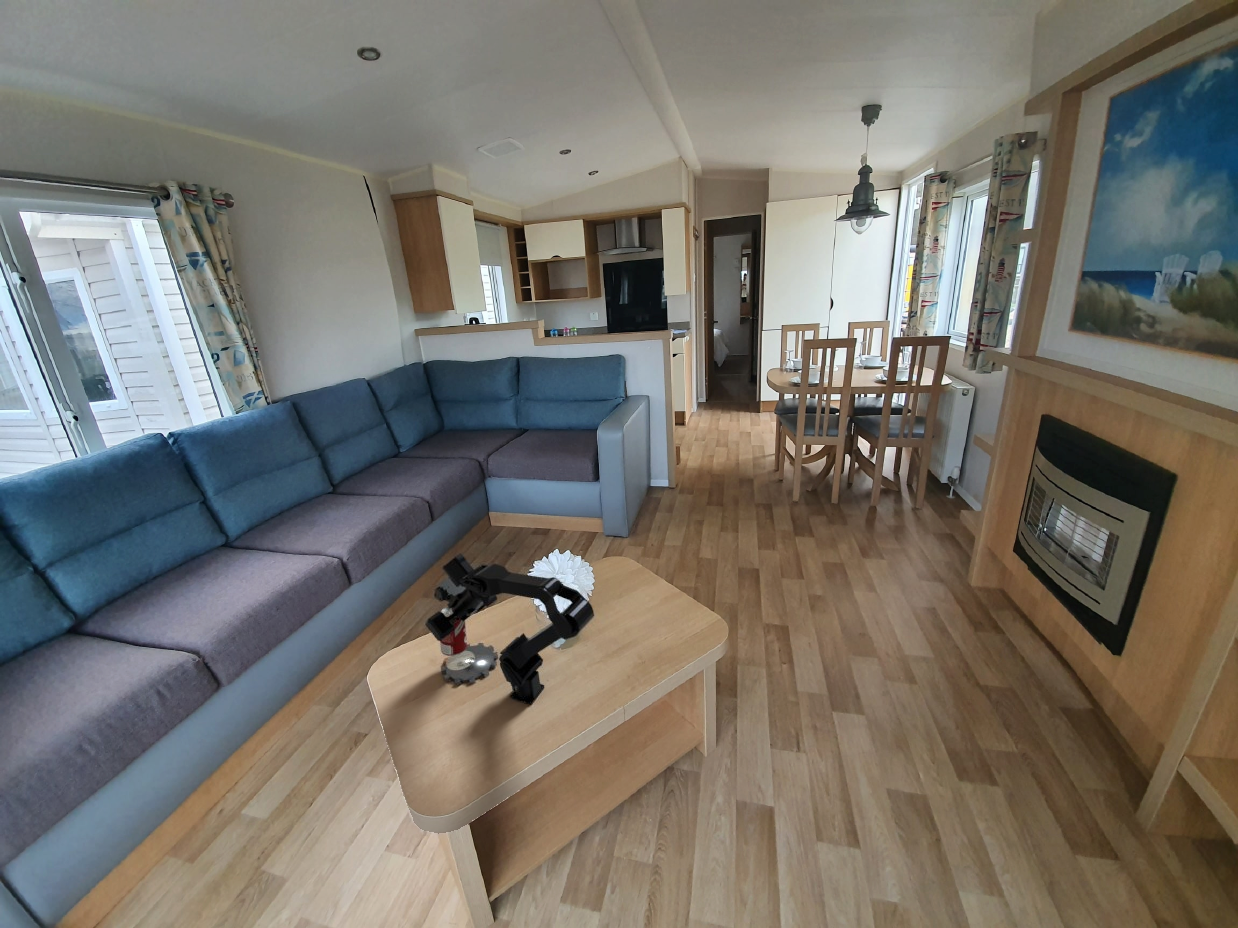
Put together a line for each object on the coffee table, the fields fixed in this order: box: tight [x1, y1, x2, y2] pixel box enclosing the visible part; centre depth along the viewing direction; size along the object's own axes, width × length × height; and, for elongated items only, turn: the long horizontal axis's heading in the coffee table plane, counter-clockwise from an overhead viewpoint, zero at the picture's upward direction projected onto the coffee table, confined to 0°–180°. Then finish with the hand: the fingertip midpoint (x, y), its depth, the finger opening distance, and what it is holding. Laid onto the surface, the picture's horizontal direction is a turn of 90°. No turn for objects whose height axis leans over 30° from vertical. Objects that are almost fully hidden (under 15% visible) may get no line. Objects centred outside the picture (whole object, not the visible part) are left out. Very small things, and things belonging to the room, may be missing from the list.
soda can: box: [439, 606, 468, 657], centre depth 132 cm, size 7×7×12 cm
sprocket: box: [440, 642, 499, 686], centre depth 136 cm, size 15×15×1 cm
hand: (449, 623), depth 133 cm, fingers closed on soda can, 6 cm apart
